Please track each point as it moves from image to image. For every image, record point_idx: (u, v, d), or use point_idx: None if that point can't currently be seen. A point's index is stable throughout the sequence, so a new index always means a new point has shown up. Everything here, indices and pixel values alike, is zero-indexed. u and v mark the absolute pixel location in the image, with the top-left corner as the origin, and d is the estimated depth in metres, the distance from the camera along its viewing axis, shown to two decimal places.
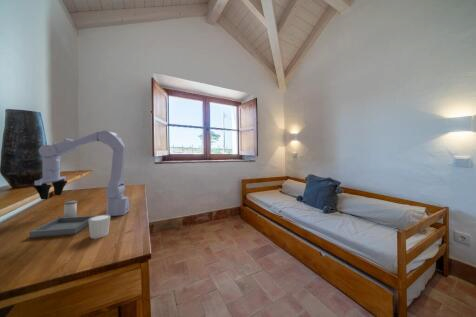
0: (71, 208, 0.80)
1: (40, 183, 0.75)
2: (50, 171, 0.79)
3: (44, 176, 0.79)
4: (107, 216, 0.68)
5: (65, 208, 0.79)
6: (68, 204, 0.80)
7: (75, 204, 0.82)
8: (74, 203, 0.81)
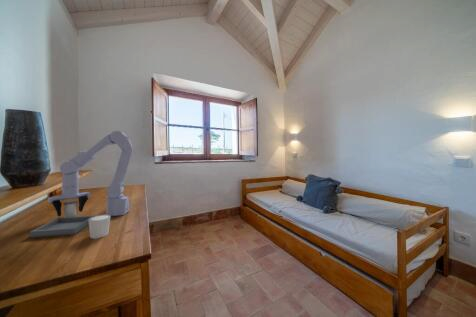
0: (71, 208, 0.80)
1: (50, 200, 0.75)
2: (64, 188, 0.79)
3: (62, 192, 0.79)
4: (107, 216, 0.68)
5: (65, 208, 0.79)
6: (68, 204, 0.80)
7: (75, 204, 0.82)
8: (74, 203, 0.81)
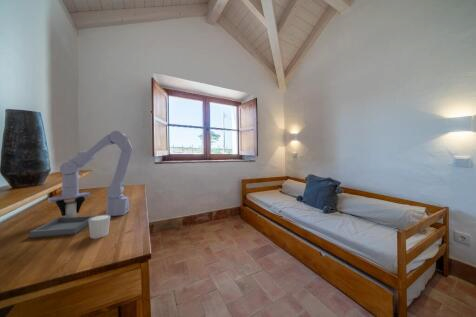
0: (71, 208, 0.80)
1: (50, 201, 0.75)
2: (64, 188, 0.79)
3: (62, 193, 0.79)
4: (107, 216, 0.68)
5: (65, 208, 0.79)
6: (68, 204, 0.80)
7: (75, 204, 0.82)
8: (74, 203, 0.81)
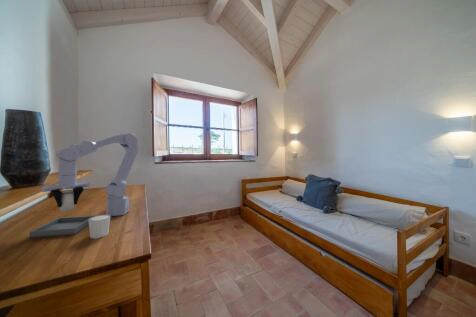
0: (67, 198, 0.72)
1: (44, 190, 0.67)
2: (60, 177, 0.70)
3: (58, 182, 0.71)
4: (107, 216, 0.68)
5: (61, 199, 0.71)
6: (64, 194, 0.71)
7: (72, 194, 0.74)
8: (70, 193, 0.73)
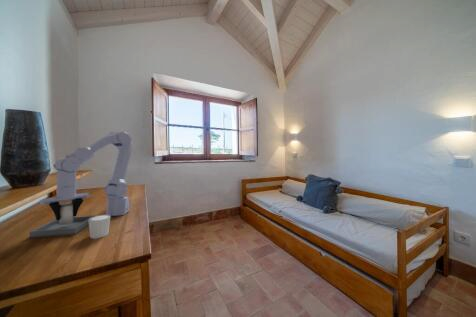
0: (66, 211, 0.69)
1: (42, 203, 0.64)
2: (59, 188, 0.68)
3: None
4: (107, 216, 0.68)
5: None
6: (63, 206, 0.69)
7: (71, 206, 0.71)
8: (69, 205, 0.70)
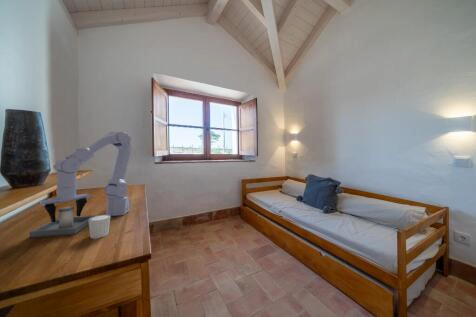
0: (66, 215, 0.69)
1: (42, 204, 0.64)
2: (59, 189, 0.68)
3: None
4: (107, 216, 0.68)
5: (60, 216, 0.69)
6: (63, 211, 0.69)
7: (71, 211, 0.71)
8: (70, 210, 0.70)
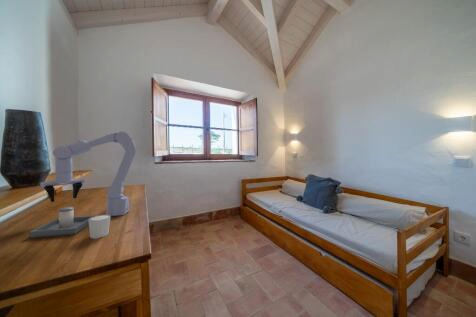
0: (66, 215, 0.69)
1: (43, 185, 0.73)
2: (57, 173, 0.77)
3: None
4: (107, 216, 0.68)
5: (60, 216, 0.69)
6: (63, 211, 0.69)
7: (71, 211, 0.71)
8: (70, 210, 0.70)
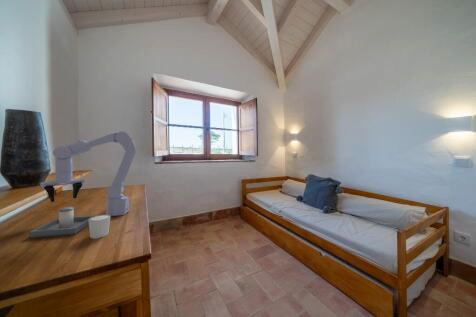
0: (66, 215, 0.69)
1: (43, 185, 0.73)
2: (57, 173, 0.77)
3: None
4: (107, 216, 0.68)
5: (60, 216, 0.69)
6: (63, 211, 0.69)
7: (71, 211, 0.71)
8: (70, 210, 0.70)
